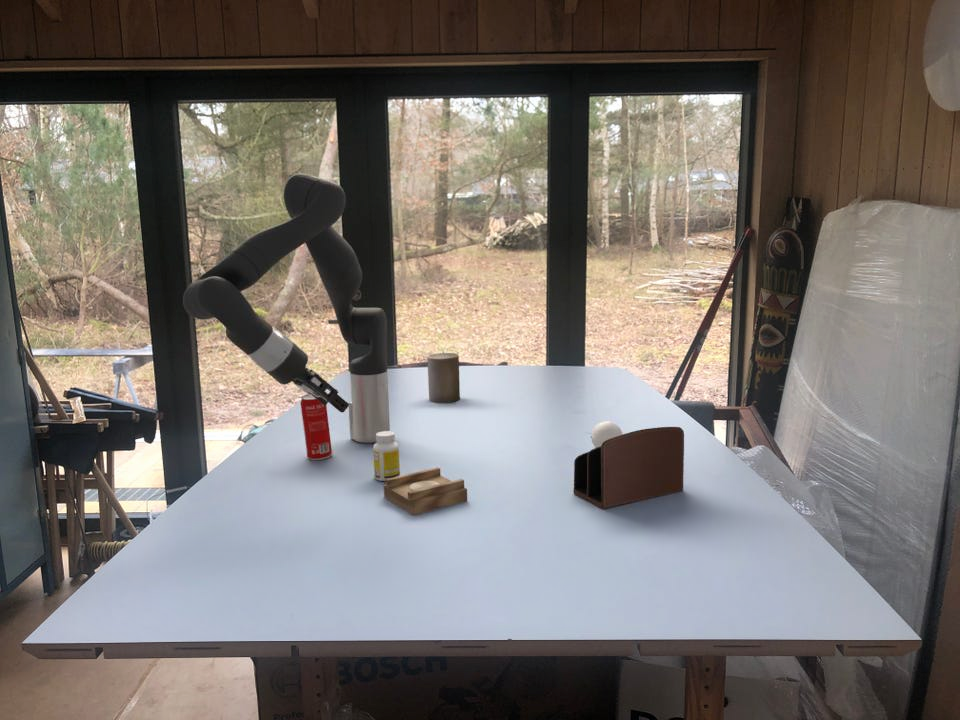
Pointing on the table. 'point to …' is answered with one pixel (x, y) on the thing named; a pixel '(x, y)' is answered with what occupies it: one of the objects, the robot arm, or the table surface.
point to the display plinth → (424, 491)
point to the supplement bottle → (386, 456)
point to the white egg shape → (604, 432)
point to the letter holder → (631, 467)
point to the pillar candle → (443, 377)
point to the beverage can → (315, 428)
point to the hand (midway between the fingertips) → (336, 405)
